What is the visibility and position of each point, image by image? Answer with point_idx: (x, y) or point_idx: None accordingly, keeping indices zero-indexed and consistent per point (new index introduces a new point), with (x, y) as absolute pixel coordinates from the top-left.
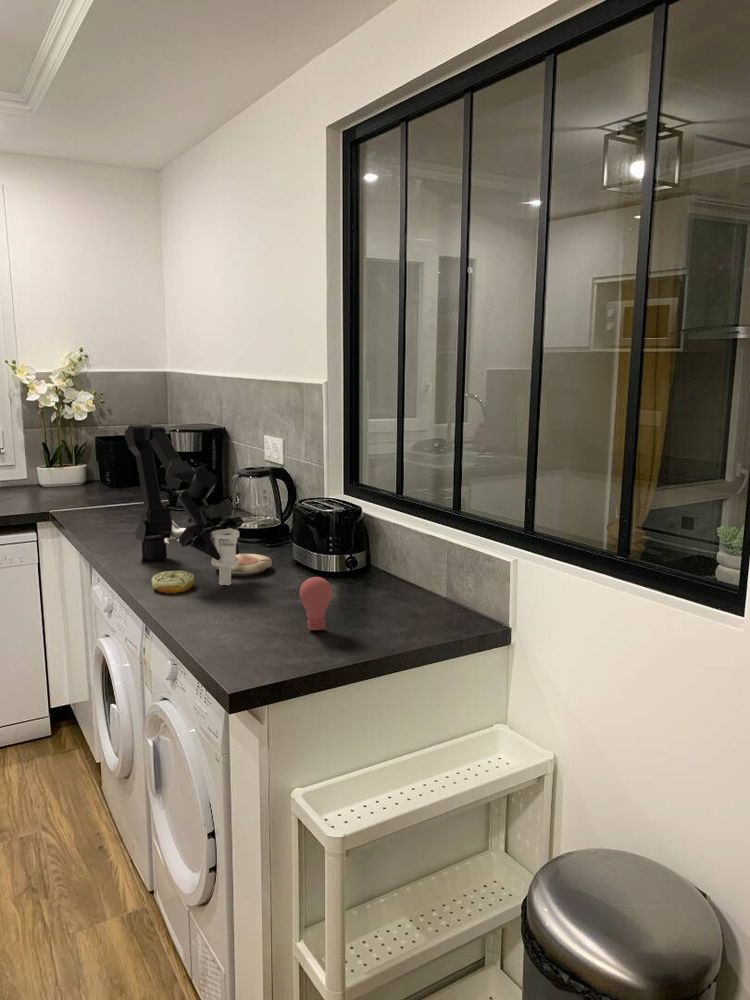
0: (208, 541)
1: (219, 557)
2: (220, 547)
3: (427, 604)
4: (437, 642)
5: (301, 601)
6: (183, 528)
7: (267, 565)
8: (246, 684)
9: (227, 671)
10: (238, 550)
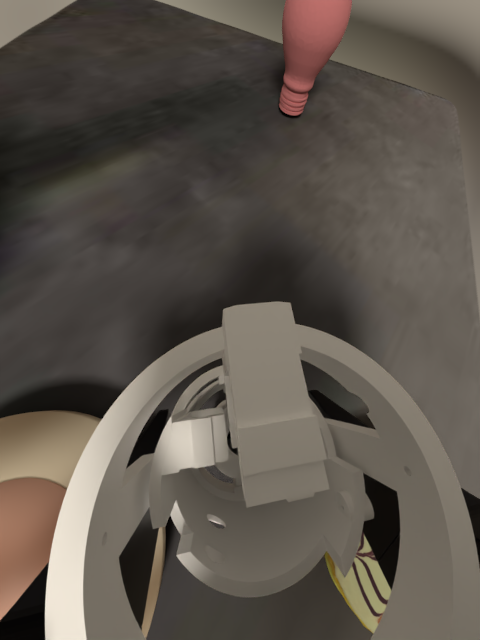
0: None
1: (316, 391)
2: (320, 419)
3: (68, 50)
4: (209, 21)
5: (332, 53)
6: None
7: (5, 417)
8: (438, 101)
9: (444, 125)
10: (156, 419)
